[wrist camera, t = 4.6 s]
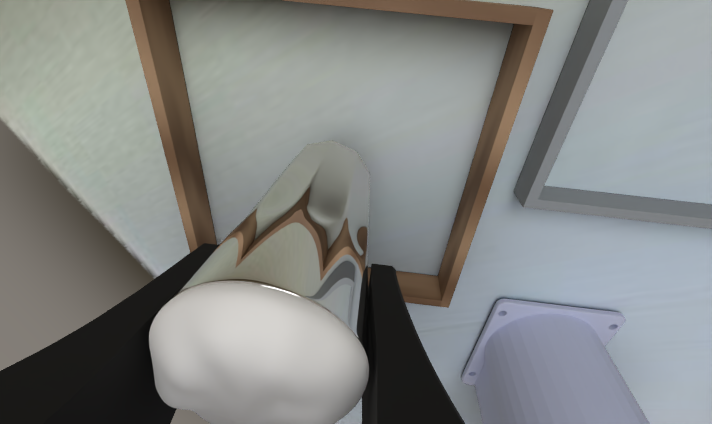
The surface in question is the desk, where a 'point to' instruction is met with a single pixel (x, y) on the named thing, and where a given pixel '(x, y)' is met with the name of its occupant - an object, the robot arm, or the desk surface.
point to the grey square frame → (557, 123)
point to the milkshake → (277, 305)
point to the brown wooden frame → (525, 41)
